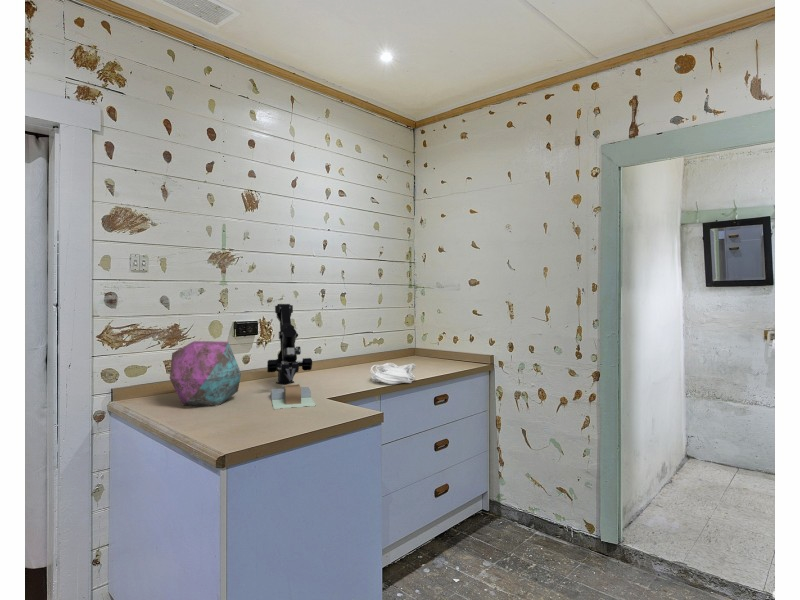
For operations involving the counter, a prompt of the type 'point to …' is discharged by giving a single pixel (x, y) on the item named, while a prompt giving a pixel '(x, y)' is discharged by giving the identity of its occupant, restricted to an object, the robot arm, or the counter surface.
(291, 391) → the block
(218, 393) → the decorative object
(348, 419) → the counter surface
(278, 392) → the plate
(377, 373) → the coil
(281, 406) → the mat
